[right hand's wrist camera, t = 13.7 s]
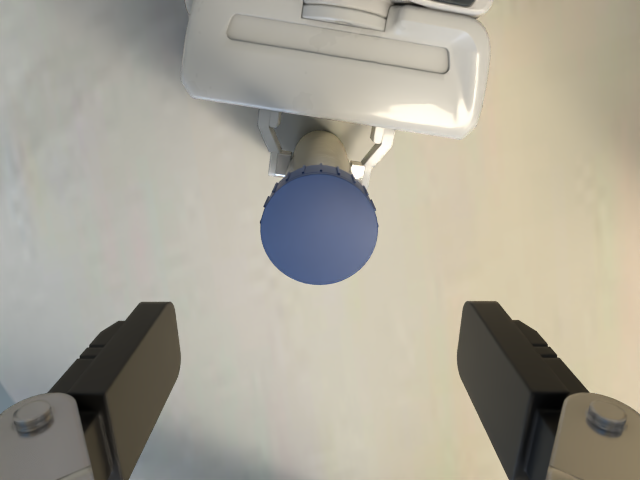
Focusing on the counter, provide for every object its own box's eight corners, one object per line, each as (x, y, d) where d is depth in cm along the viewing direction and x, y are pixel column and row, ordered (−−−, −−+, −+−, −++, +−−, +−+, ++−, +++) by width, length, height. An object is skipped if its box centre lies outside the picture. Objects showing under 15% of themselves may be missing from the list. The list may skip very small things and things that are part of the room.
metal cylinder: (320, 192, 39) (319, 292, 20) (283, 156, 38) (247, 229, 19) (356, 156, 38) (390, 228, 19) (319, 118, 37) (318, 157, 18)
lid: (319, 287, 22) (319, 308, 20) (242, 217, 21) (233, 232, 19) (396, 217, 21) (404, 231, 19) (318, 139, 20) (318, 145, 18)
